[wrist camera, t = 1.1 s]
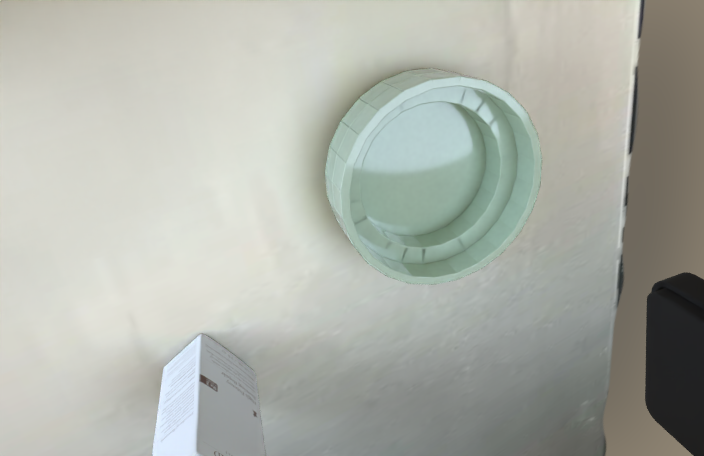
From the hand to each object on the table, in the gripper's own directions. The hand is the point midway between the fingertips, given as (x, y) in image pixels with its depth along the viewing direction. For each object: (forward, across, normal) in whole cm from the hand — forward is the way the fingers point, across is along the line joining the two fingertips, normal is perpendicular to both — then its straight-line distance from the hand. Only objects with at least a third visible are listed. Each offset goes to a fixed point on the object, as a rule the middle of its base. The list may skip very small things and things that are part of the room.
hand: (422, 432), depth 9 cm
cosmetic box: (+29, +9, +17) cm, 35 cm away
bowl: (+29, -10, +6) cm, 32 cm away
